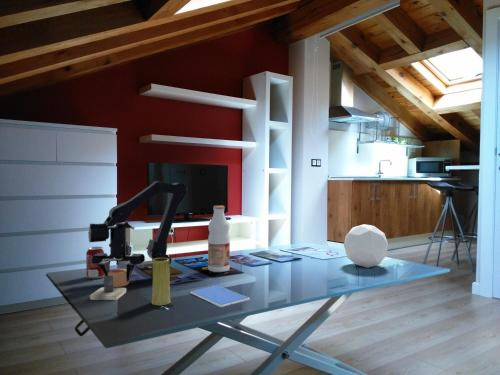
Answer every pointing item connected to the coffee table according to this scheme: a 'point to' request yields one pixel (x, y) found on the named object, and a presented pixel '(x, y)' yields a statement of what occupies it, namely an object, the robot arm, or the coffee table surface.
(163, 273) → the vase
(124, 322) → the coffee table surface
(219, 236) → the fruit juice
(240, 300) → the tablet computer
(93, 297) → the shaft block
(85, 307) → the coffee table surface
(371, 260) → the geometric polyhedron
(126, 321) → the coffee table surface
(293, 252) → the coffee table surface
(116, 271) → the ring
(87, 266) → the soda can
